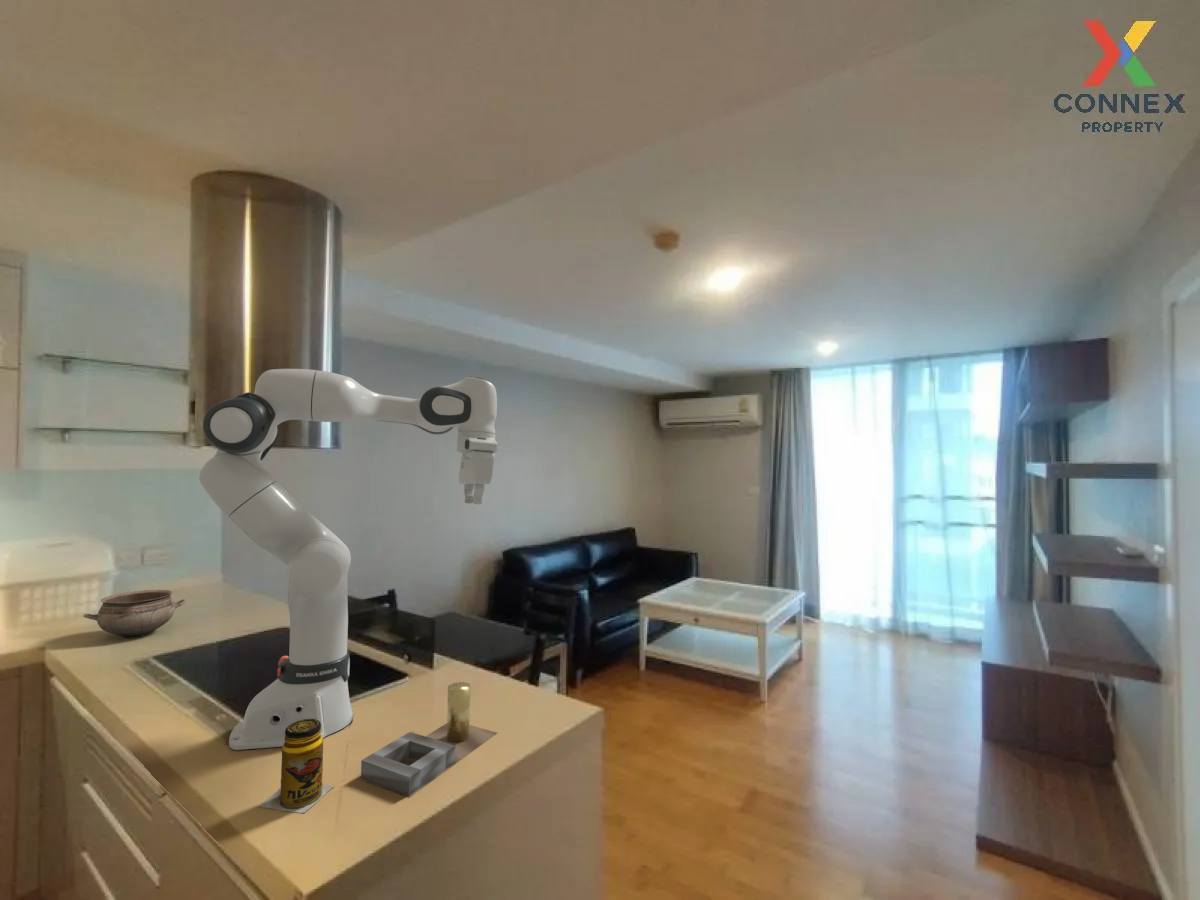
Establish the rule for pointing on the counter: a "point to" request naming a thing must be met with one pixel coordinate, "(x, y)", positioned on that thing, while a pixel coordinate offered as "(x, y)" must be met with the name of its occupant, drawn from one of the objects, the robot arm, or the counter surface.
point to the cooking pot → (135, 612)
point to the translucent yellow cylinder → (458, 712)
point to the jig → (418, 759)
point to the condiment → (300, 768)
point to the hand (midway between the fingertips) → (472, 503)
